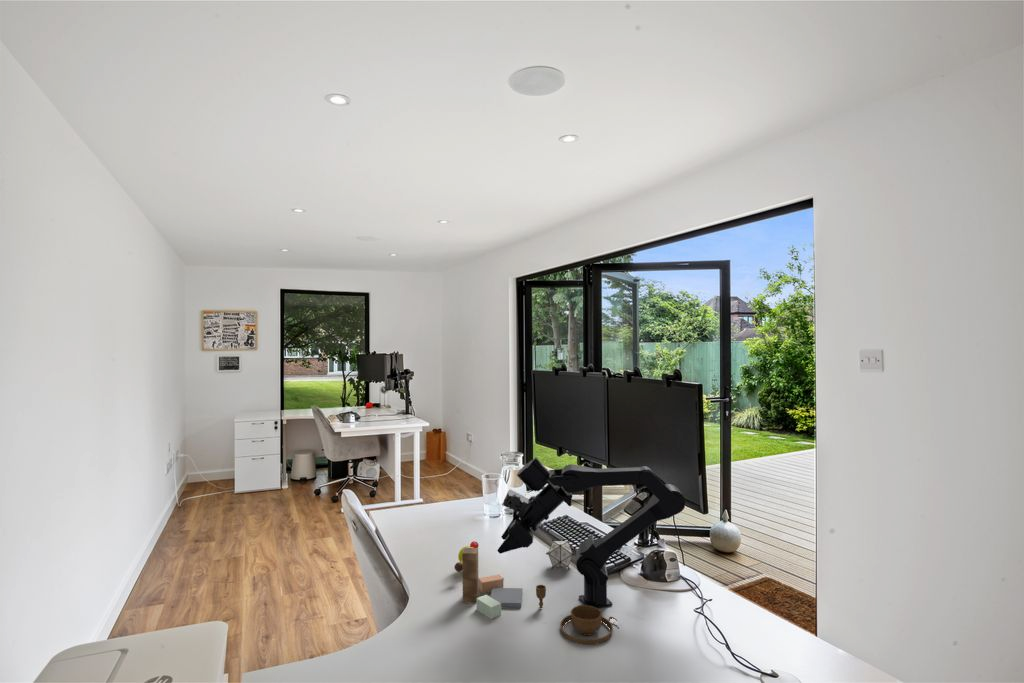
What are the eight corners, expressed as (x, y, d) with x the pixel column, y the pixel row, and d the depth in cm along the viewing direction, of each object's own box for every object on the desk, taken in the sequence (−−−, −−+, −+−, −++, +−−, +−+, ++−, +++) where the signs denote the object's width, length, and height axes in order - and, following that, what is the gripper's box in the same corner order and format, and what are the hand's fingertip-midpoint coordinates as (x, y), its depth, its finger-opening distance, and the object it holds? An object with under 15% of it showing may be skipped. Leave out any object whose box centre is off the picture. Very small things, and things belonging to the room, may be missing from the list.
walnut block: (478, 595, 144) (478, 548, 144) (476, 602, 141) (476, 553, 141) (464, 595, 145) (464, 547, 145) (462, 602, 141) (462, 553, 141)
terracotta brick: (499, 585, 151) (499, 574, 151) (503, 589, 148) (503, 578, 148) (478, 589, 149) (478, 578, 149) (482, 594, 146) (482, 582, 146)
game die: (564, 577, 163) (582, 547, 166) (564, 579, 155) (583, 547, 158) (539, 559, 166) (556, 530, 168) (537, 560, 158) (556, 529, 160)
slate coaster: (522, 592, 146) (522, 588, 146) (521, 607, 138) (521, 603, 138) (492, 592, 146) (492, 587, 146) (489, 607, 138) (489, 602, 138)
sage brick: (501, 615, 135) (501, 603, 135) (491, 619, 133) (491, 607, 133) (486, 606, 139) (486, 594, 139) (476, 610, 137) (476, 598, 137)
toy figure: (468, 585, 151) (468, 560, 151) (449, 583, 152) (448, 558, 152) (485, 558, 168) (484, 536, 168) (467, 557, 169) (467, 535, 169)
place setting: (557, 653, 119) (557, 626, 119) (531, 608, 139) (531, 585, 139) (632, 642, 124) (632, 615, 124) (597, 600, 143) (597, 577, 143)
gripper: (524, 471, 151) (483, 510, 152) (519, 491, 133) (473, 535, 134) (553, 501, 151) (512, 540, 152) (551, 525, 132) (505, 569, 133)
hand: (500, 544), depth 143 cm, fingers open, 9 cm apart
